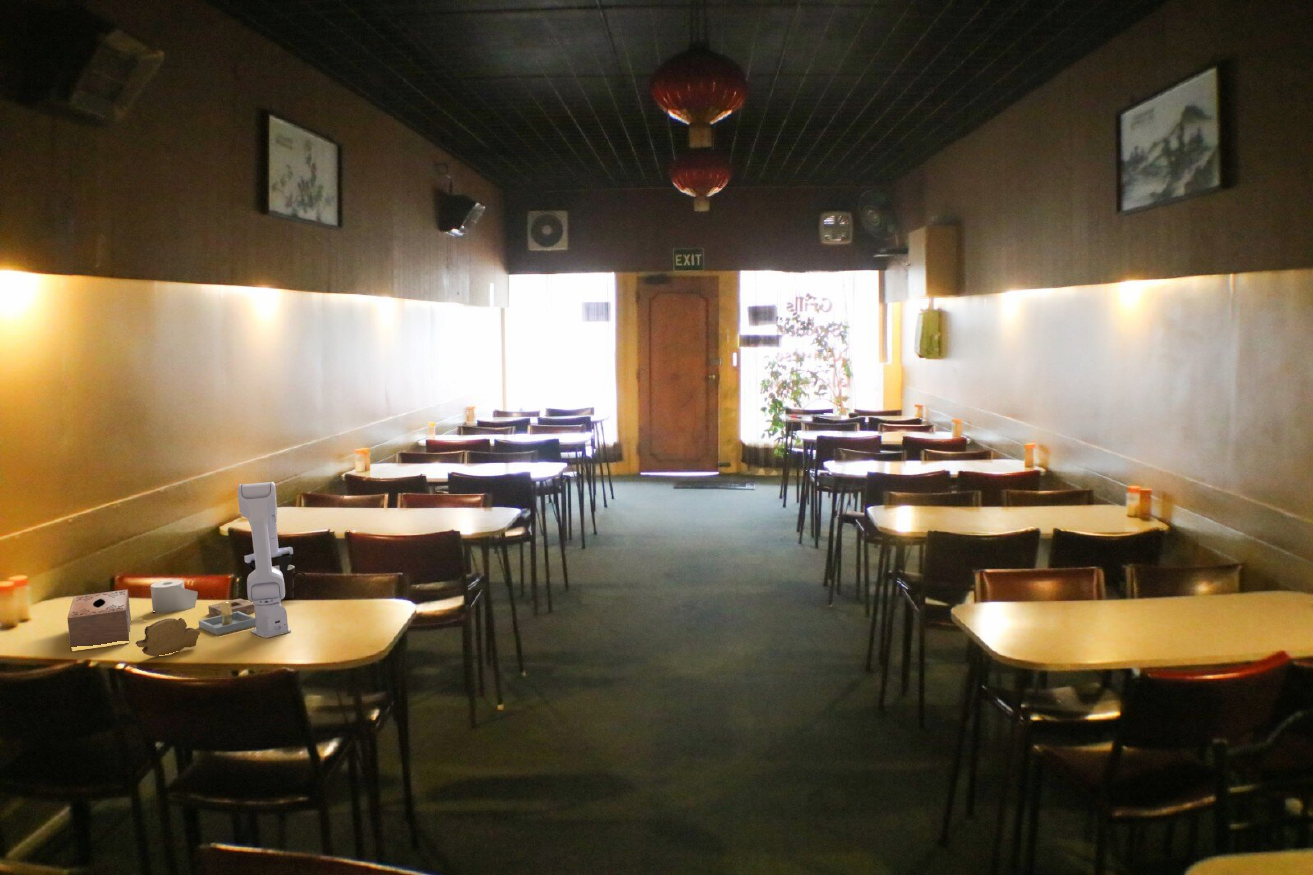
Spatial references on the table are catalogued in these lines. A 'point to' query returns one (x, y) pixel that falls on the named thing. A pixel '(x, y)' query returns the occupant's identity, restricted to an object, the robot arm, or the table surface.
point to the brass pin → (226, 613)
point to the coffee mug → (290, 581)
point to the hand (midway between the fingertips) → (271, 581)
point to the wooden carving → (168, 637)
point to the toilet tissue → (172, 596)
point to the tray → (238, 623)
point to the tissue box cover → (99, 618)
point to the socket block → (233, 607)
